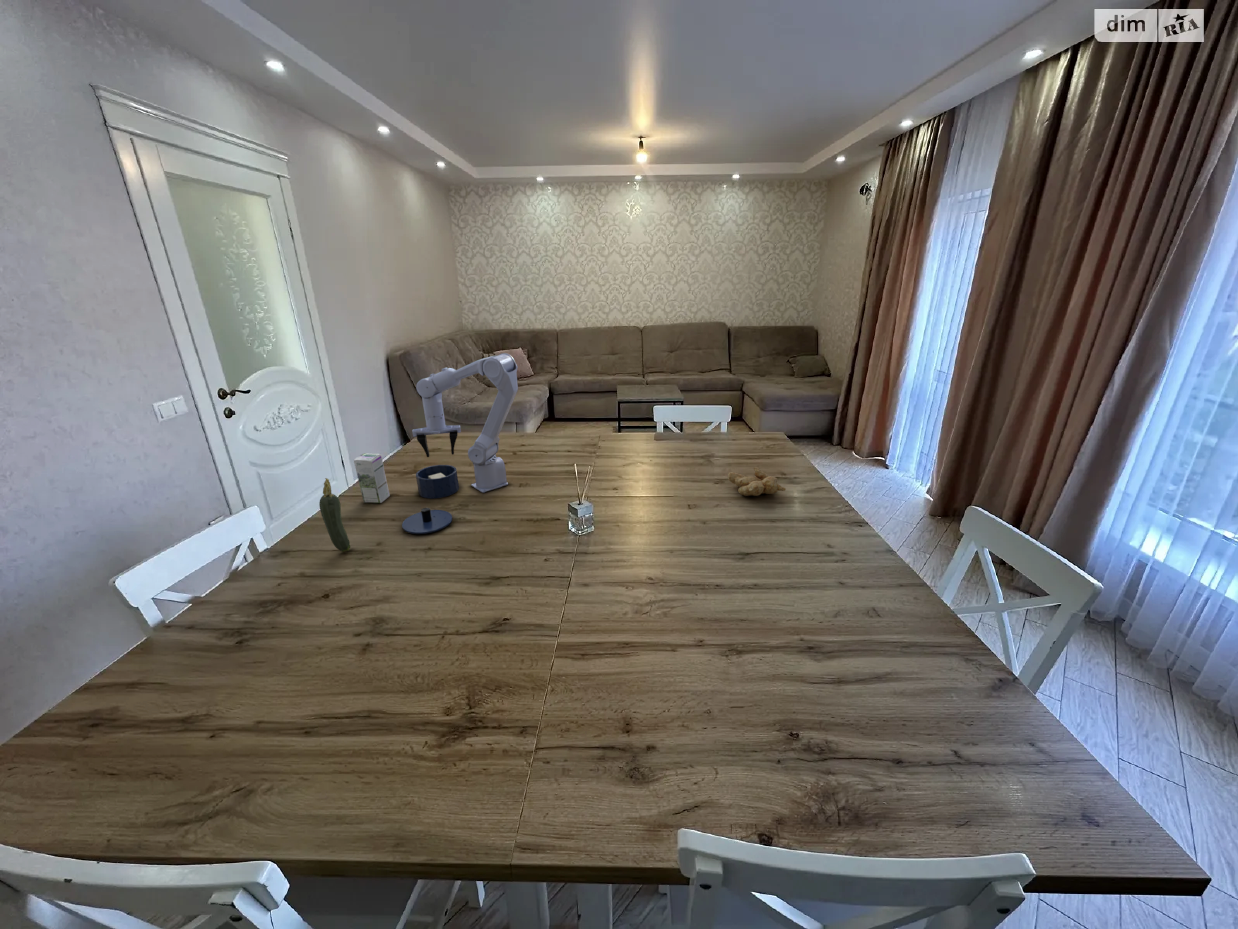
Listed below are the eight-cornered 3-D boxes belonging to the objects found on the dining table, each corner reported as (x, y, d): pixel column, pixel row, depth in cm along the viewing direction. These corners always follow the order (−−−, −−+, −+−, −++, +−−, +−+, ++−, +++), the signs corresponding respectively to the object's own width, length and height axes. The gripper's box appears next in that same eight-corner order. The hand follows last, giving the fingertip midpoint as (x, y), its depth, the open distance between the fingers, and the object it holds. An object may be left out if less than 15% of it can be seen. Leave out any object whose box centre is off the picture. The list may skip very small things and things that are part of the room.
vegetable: (343, 558, 119) (324, 484, 112) (328, 556, 120) (308, 483, 113) (355, 548, 123) (338, 477, 116) (340, 547, 124) (322, 475, 117)
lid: (442, 508, 144) (440, 494, 142) (460, 525, 135) (458, 510, 133) (396, 522, 136) (393, 508, 134) (412, 541, 127) (409, 525, 125)
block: (442, 485, 159) (440, 472, 157) (448, 489, 156) (446, 476, 154) (430, 488, 156) (427, 476, 155) (435, 492, 153) (433, 479, 152)
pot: (448, 479, 164) (446, 461, 162) (465, 490, 156) (463, 472, 154) (413, 490, 157) (409, 471, 154) (428, 502, 148) (425, 482, 146)
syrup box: (390, 495, 153) (382, 452, 147) (380, 504, 147) (370, 459, 142) (373, 495, 153) (364, 452, 148) (362, 503, 148) (352, 459, 142)
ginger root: (791, 500, 145) (787, 475, 142) (738, 511, 147) (734, 487, 144) (776, 480, 160) (773, 458, 157) (729, 490, 161) (724, 469, 159)
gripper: (408, 420, 148) (416, 461, 153) (458, 416, 152) (463, 456, 157) (410, 414, 154) (417, 454, 159) (458, 410, 158) (463, 449, 163)
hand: (440, 454), depth 159 cm, fingers open, 7 cm apart
